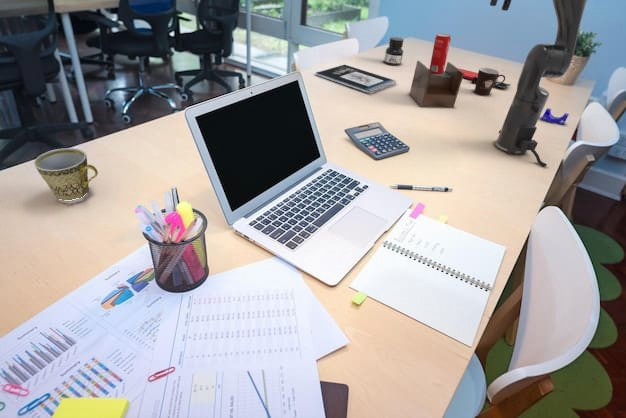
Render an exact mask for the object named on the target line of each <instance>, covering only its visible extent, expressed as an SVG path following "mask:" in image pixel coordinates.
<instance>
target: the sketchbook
mask: <svg viewBox="0 0 626 418" xmlns="http://www.w3.org/2000/svg"><path fill="white" fill-rule="evenodd" d="M315 76H317V77H320V78H323V79H326V80H329V81H331V82H335V83H337V84H340V85H343V86H346V87H349V88H352V89H353V90H354V89H355V90H357V91H360V92H364V93H366V94H367V95H368V94H369V95H371V94H374V93H376V92H378V91H381V90H383V89H386V88H389V87H391V86H394V85H396V84H397V80H396V79H392V78H389V77H386V76H381V75H379V74H376V73H373V72H371V71H367V70H364V69H361V68H357V67H355V66H351V65H347V64H341V65H338V66H334V67H331V68H327V69H323V70H320V71H317V72H315Z"/></svg>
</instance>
